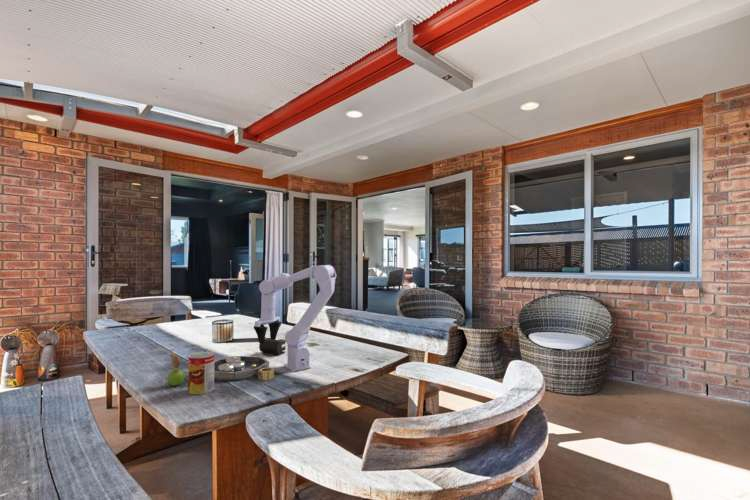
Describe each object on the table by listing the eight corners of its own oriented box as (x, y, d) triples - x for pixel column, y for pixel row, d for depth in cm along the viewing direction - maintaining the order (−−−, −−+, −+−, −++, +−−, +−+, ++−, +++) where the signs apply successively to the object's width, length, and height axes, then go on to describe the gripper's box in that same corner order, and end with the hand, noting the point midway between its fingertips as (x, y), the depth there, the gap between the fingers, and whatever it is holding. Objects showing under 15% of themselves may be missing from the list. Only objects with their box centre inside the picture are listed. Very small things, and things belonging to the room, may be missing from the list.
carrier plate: (275, 373, 140) (276, 361, 140) (215, 385, 126) (215, 372, 126) (255, 360, 157) (255, 350, 157) (200, 369, 143) (200, 358, 144)
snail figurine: (179, 381, 131) (179, 347, 131) (187, 384, 127) (187, 350, 127) (163, 385, 126) (163, 350, 127) (170, 389, 122) (171, 353, 123)
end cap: (258, 354, 166) (258, 339, 166) (268, 351, 173) (268, 336, 173) (277, 356, 163) (277, 341, 163) (286, 353, 169) (286, 338, 169)
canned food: (196, 385, 126) (196, 351, 126) (218, 386, 125) (218, 351, 125) (182, 394, 118) (183, 357, 118) (206, 395, 117) (206, 357, 118)
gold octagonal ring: (276, 377, 135) (276, 369, 135) (264, 381, 130) (264, 372, 130) (267, 374, 138) (267, 366, 138) (255, 378, 134) (255, 370, 134)
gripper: (271, 305, 159) (270, 336, 159) (248, 310, 146) (247, 344, 146) (284, 306, 157) (283, 338, 157) (263, 311, 143) (262, 345, 143)
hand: (267, 341), depth 151 cm, fingers open, 7 cm apart
